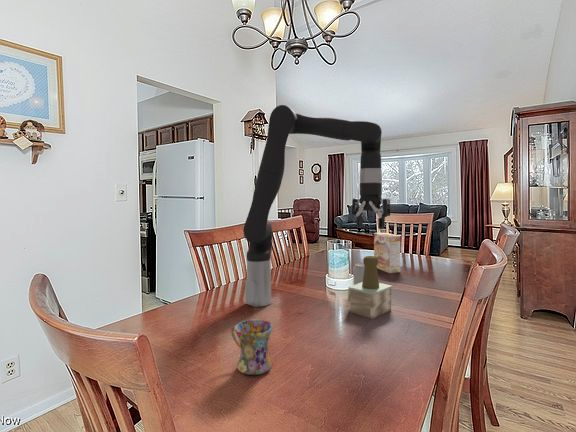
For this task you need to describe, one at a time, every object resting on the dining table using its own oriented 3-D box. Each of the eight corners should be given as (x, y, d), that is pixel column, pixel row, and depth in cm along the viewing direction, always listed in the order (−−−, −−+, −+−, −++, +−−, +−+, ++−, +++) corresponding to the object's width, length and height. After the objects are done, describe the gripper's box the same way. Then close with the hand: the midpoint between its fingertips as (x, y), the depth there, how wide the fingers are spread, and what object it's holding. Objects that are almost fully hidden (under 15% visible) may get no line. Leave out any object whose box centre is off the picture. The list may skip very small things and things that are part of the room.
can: (371, 295, 139) (371, 266, 138) (353, 294, 141) (353, 266, 140) (370, 289, 146) (371, 262, 146) (353, 289, 148) (353, 262, 147)
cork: (366, 283, 124) (366, 254, 123) (382, 286, 121) (382, 255, 120) (359, 287, 120) (359, 256, 119) (375, 290, 116) (375, 258, 115)
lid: (373, 295, 113) (373, 293, 113) (348, 289, 120) (348, 286, 120) (392, 287, 121) (392, 285, 121) (367, 282, 128) (367, 280, 128)
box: (372, 319, 113) (372, 295, 113) (348, 311, 121) (348, 289, 120) (391, 310, 121) (391, 288, 121) (367, 303, 129) (367, 283, 128)
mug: (280, 365, 84) (280, 324, 83) (257, 383, 77) (256, 337, 76) (244, 352, 91) (243, 314, 90) (219, 368, 83) (218, 326, 82)
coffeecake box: (373, 267, 189) (373, 232, 188) (384, 266, 191) (384, 232, 190) (389, 273, 175) (389, 236, 173) (400, 272, 177) (401, 235, 175)
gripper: (347, 182, 120) (347, 227, 121) (382, 181, 110) (382, 230, 111) (359, 182, 125) (359, 225, 127) (394, 181, 115) (394, 228, 116)
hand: (370, 227), depth 119 cm, fingers open, 8 cm apart
